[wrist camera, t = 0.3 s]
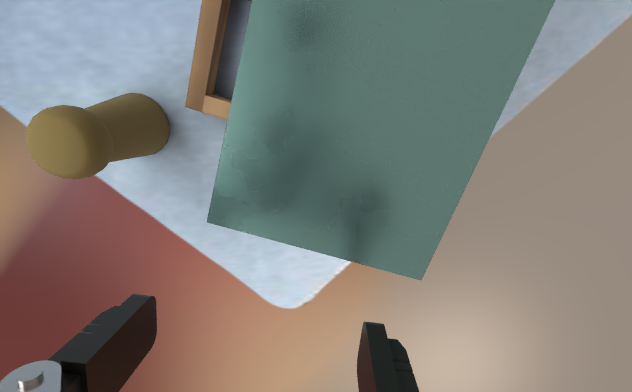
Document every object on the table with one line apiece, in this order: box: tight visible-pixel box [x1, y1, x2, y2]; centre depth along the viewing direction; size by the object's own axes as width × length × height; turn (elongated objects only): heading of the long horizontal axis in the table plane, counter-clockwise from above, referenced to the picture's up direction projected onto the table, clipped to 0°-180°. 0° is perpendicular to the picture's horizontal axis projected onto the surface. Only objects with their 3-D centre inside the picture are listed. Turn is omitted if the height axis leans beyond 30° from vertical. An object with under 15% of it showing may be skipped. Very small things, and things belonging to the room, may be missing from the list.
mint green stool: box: [207, 0, 555, 280], centre depth 22 cm, size 10×14×20 cm
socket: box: [185, 0, 252, 120], centre depth 29 cm, size 12×12×2 cm
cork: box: [25, 93, 169, 179], centre depth 27 cm, size 6×6×11 cm
